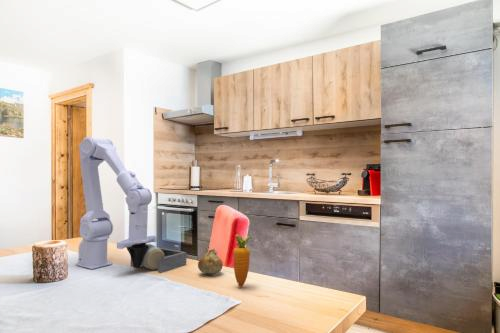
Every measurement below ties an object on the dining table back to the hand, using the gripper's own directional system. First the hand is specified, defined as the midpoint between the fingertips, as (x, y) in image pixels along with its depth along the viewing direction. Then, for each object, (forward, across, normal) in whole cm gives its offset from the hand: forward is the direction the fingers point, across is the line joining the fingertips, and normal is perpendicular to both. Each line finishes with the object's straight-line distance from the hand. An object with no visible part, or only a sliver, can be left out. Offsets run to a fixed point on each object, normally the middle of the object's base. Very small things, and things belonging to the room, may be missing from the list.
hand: (137, 267), depth 109 cm
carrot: (+2, +6, -36) cm, 37 cm away
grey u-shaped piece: (+1, +9, 0) cm, 9 cm away
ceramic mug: (+2, +7, 0) cm, 7 cm away
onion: (+2, +11, -21) cm, 24 cm away
